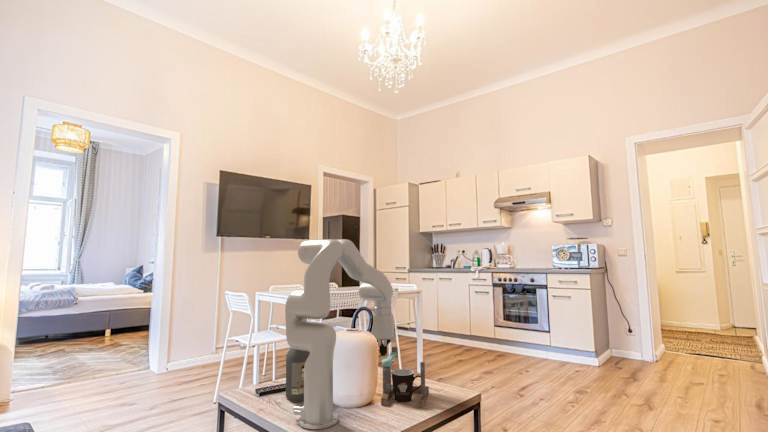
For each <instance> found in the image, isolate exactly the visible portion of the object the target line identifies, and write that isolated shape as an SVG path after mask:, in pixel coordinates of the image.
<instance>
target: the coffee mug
mask: <svg viewBox="0 0 768 432" xmlns="http://www.w3.org/2000/svg"><path fill="white" fill-rule="evenodd" d="M416 378H421V374H420V375H415V371H414V370H412V369H408V368H397V369H394V370H391V384H392V385H393V390H394V394H393V397H394V402H396V403H400V404H401V403H402V404H403V403H404V404H406V403H409V402H411V401H412V397H413V394H414V393H413V392H414V391H416V390H417V389H419V388H420V387H421V384H420V385H418V386H419V387H417V388H416V389H414V390H412V389H413V386H414V382H415V380H416Z"/></svg>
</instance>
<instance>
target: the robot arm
mask: <svg viewBox="0 0 768 432" xmlns="http://www.w3.org/2000/svg"><path fill="white" fill-rule="evenodd" d="M297 248H298V249H297V256H298V259H299V260H300V261H301V262H302V263H304V264H306V265H307V268H306V269H305V273H304V277H303V282H304V283H303V289H296V290H294V291H292V292H291V293H290V294H289V295H288V296H287V299H286V301H285V307H284V309H285V310H284V311H285V312H284V313H285V314H284V315H285V317H284V318H285V334H286V335H285V336H286V337H285V338H286V341H287V344H288V346H289V347H290V349H291V348H293V349H296V350H302V351H308V352H310V354H309V356H308V358H307V360H306V362H305V365H304V401H303V406H301V405H300V406H297V405H295V406H293V408H292V411H293V413H292V415H296V416H300V417H299V419H298V425H299V426H300V427H301V428H303V429H307V430H322V429H327V428H330V427H332V426H334V425H336V424H337V423H338V420H339V419H338V418H339V416H338V415H337V413H335V412H334V354H335V353H334V352H335V347H336V341H337V332H336V330H335V328H334V327H333V326H332V325H330V324H328V323H325V322H316V321H314V322H313V321H308V319H309V320H322V319H323V320H324V319H326V318H327V317H328V316H329V314H330V312H331V293H330V291H331V290H330V279H331V272H332V270H333V268H335V267H334V266H336V265H337V263H339V264H340V265H341V267H342V268H343V270H344V271H345V273H346V274H347V275H348V277H349V278H351V279H353V280H355V281H357V282H360V283H362V284H361V285H360V286H359V288H358V295H359V297H360V299H362V300H364V301H369V302H370V301H371V302H373V307H371V308H370V311H371V312H373V316H374V319H373V326H372V334H373V335H374V336H375V338H376V339H377V342H378V344H377V345H378V347H379V350H378V351H379V354H380V356H381V357H382V356H383V357H385V356H386V355H387V354H388V345H389V344H390V343H393V342H395V341H396V326H395V325H396V323H395V317H394V314H393V313H392V298H393V295H394V290H393V289H394V288H393V285H392V284H391V282H390V280H389V278H388V277H387V276H386V275H385V274H384V272H382V271H381V270H379V269H377V268H376V267H374V266H372V265H371V264H368V263H367V262H366V260H365V259H364V257H363V256H362V254H361V253H360V251H359V249H358V248H357V247H356V245H355V244H354V242H353V241H352V240H350V239H348V238H347V239H346V238H342V239H341V238H339V239H332V238H331V239H330V238H329V239H327V238H326V239H315V240H314V239H313V240H309V239H308V240H305V241H303V242H301V244H300V245H299V246H298V247H297Z"/></svg>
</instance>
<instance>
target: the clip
mask: <svg viewBox="0 0 768 432" xmlns="http://www.w3.org/2000/svg"><path fill="white" fill-rule="evenodd" d="M398 357H399V355H398V347H397V346H392V347H391V352H390V354H389V355H387V357H386V358H384V359H382V360H381V366H382V368H383V367H390V366H391V367H392V362H393V361H394V360H395V359H397V358H398Z"/></svg>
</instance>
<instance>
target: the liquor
mask: <svg viewBox="0 0 768 432" xmlns="http://www.w3.org/2000/svg"><path fill="white" fill-rule="evenodd" d="M309 354H310V352H308V351H302V350H296V349H293V348H291V347H290V349H289V350H288V351H287V353H286V356H285V360H286V361H285V366H286V367H285V397H286V399H287V398H288V399H289V401H290V402H291V401H292V402H291V403H302V402H304V365H305V362H306V360H307V358H308V356H309ZM288 399H287V400H288Z"/></svg>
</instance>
